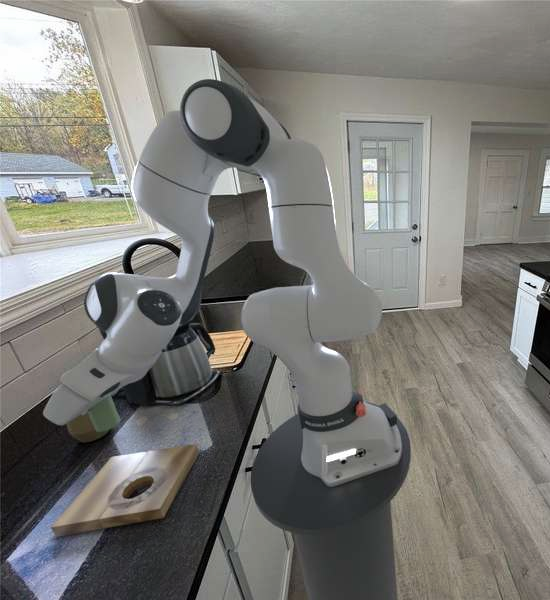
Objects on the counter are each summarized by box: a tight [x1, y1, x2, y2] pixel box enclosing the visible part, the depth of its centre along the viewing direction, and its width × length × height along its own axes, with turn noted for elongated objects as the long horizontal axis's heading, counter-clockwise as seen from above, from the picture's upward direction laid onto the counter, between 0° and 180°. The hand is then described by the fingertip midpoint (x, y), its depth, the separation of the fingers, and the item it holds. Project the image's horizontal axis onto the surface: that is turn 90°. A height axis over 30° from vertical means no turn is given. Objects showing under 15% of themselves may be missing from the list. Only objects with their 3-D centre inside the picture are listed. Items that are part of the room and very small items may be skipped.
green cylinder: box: [88, 395, 121, 432], centre depth 64 cm, size 4×4×12 cm
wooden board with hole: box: [50, 443, 200, 537], centre depth 65 cm, size 18×16×2 cm
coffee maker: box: [98, 316, 221, 407], centre depth 93 cm, size 23×32×34 cm
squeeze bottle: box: [65, 412, 111, 443], centre depth 78 cm, size 8×8×18 cm
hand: (95, 402), depth 64 cm, fingers closed on green cylinder, 4 cm apart
